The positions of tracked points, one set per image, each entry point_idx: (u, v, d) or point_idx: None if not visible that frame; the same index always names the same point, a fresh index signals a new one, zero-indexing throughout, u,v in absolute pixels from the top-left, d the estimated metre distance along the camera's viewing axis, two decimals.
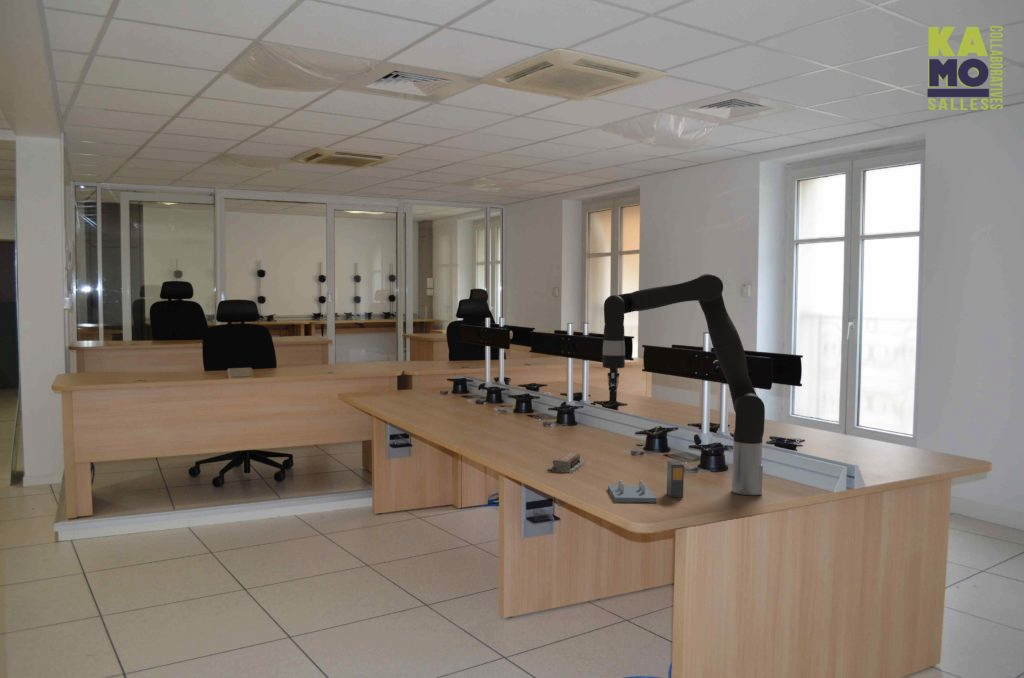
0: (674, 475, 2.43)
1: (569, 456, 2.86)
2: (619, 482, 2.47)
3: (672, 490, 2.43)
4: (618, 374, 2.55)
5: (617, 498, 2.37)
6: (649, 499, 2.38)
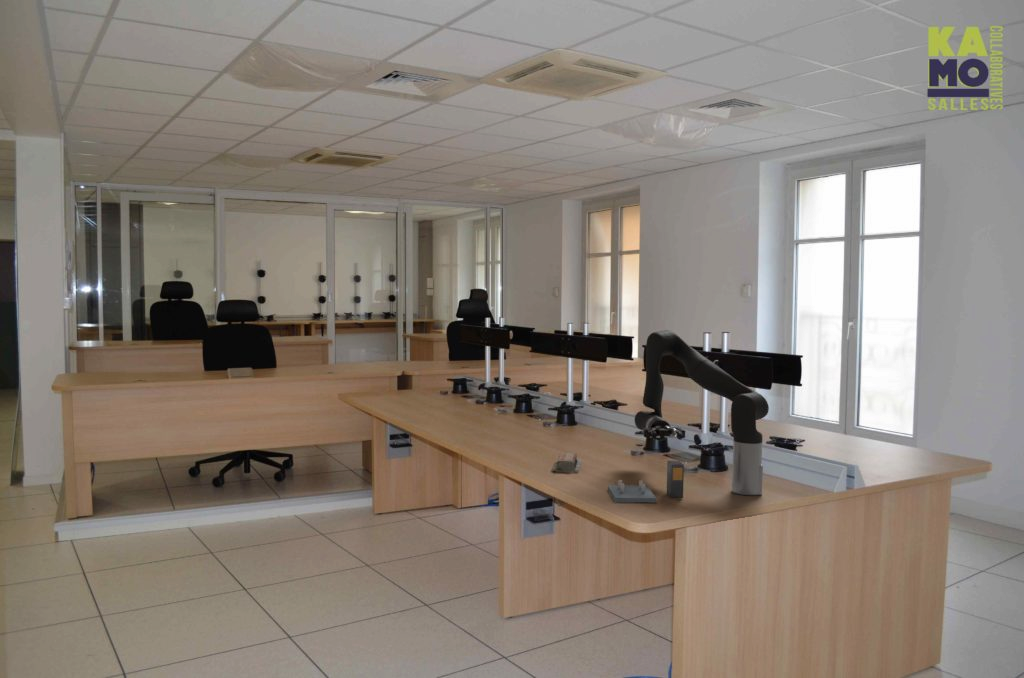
0: (674, 475, 2.43)
1: (570, 456, 2.86)
2: (619, 482, 2.47)
3: (672, 490, 2.43)
4: None
5: (617, 498, 2.37)
6: (649, 499, 2.38)
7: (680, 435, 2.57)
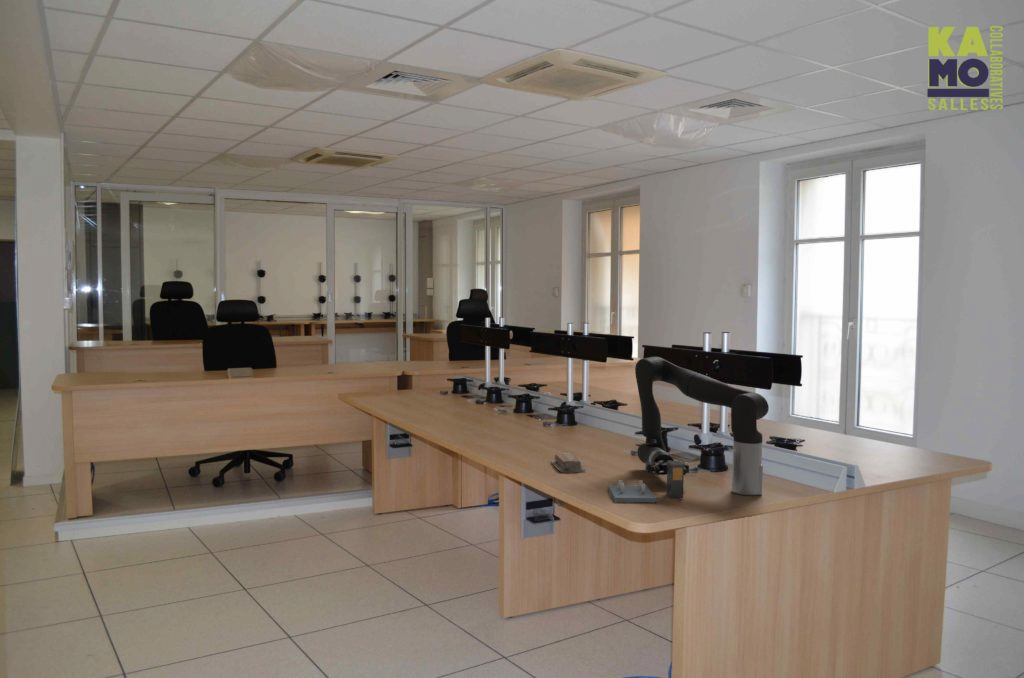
0: (674, 475, 2.43)
1: (570, 456, 2.87)
2: (619, 482, 2.47)
3: (672, 490, 2.43)
4: None
5: (617, 498, 2.37)
6: (649, 499, 2.38)
7: (684, 471, 2.51)
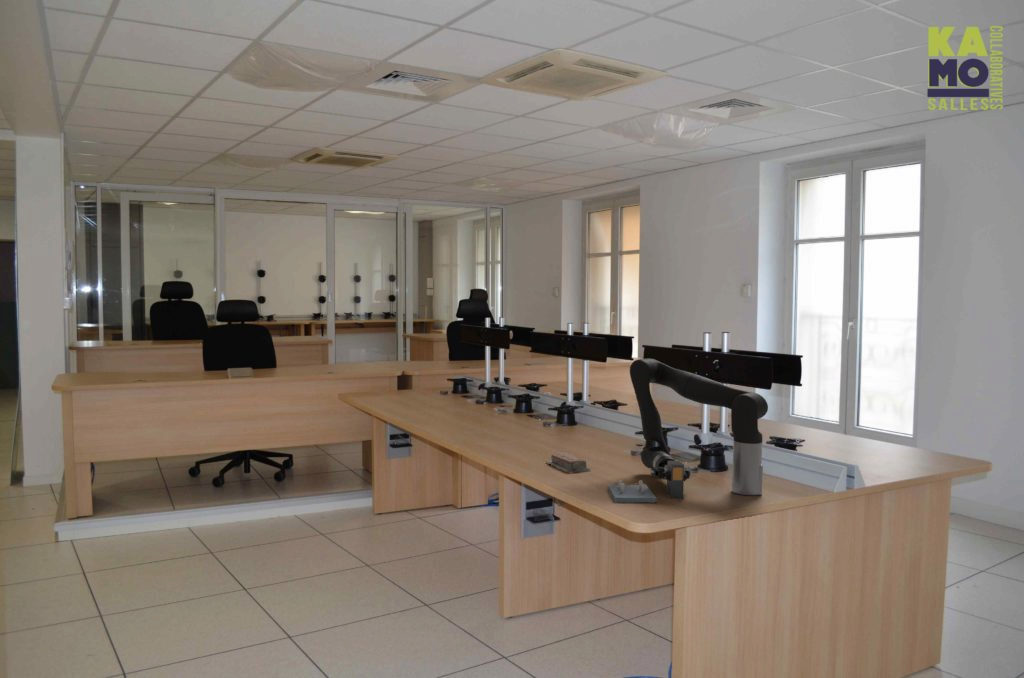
0: (674, 475, 2.43)
1: (570, 456, 2.87)
2: (619, 482, 2.47)
3: (672, 490, 2.43)
4: (665, 465, 2.53)
5: (617, 498, 2.37)
6: (649, 499, 2.38)
7: (684, 476, 2.43)
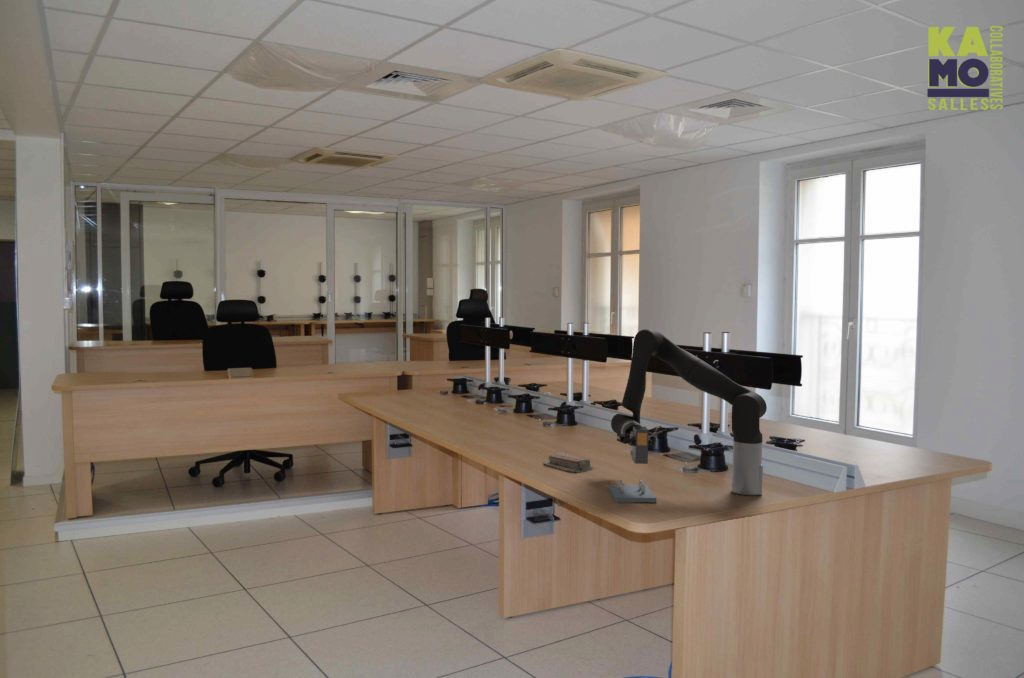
0: (639, 440, 2.42)
1: (570, 455, 2.87)
2: (619, 482, 2.47)
3: (637, 455, 2.43)
4: (631, 431, 2.52)
5: (617, 498, 2.37)
6: (649, 499, 2.38)
7: (648, 441, 2.43)
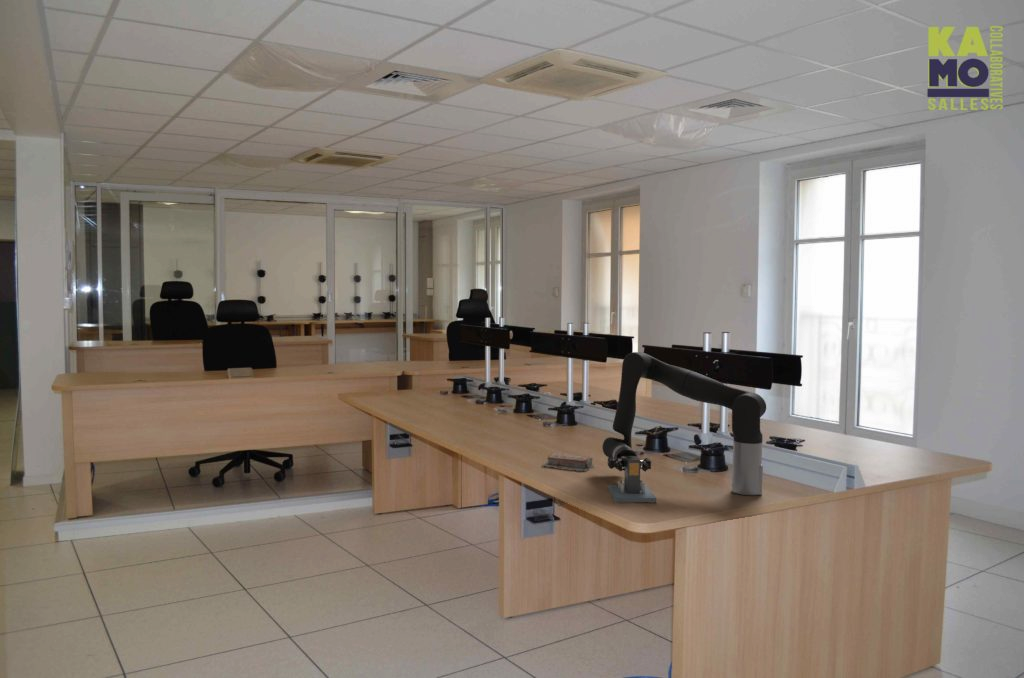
0: (631, 470, 2.42)
1: (569, 455, 2.88)
2: (619, 482, 2.47)
3: (628, 485, 2.42)
4: None
5: (617, 498, 2.37)
6: (649, 499, 2.38)
7: (645, 467, 2.43)
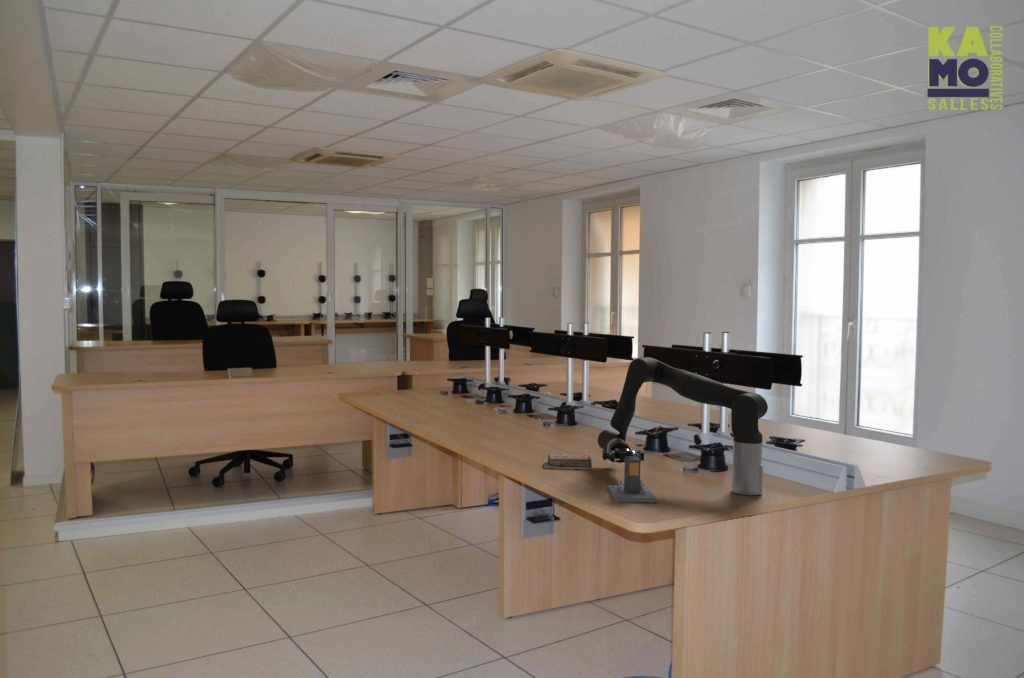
0: (631, 470, 2.42)
1: (568, 455, 2.88)
2: (619, 482, 2.47)
3: (628, 485, 2.42)
4: (616, 449, 2.65)
5: (617, 498, 2.37)
6: (649, 499, 2.38)
7: None
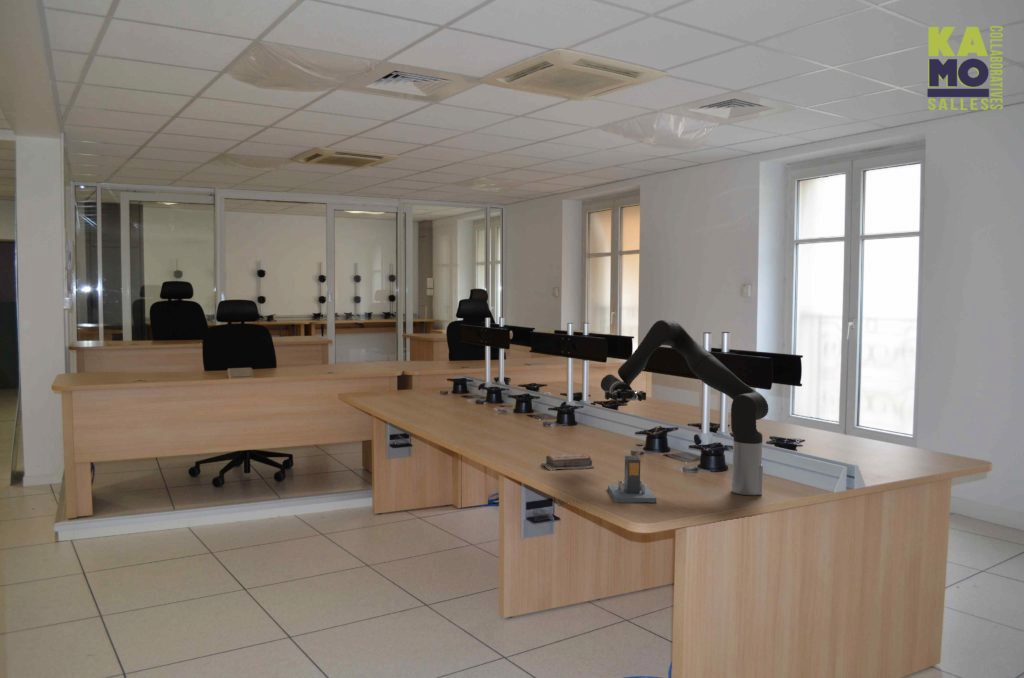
0: (631, 470, 2.42)
1: (567, 455, 2.88)
2: (619, 482, 2.47)
3: (628, 485, 2.42)
4: None
5: (617, 498, 2.37)
6: (649, 499, 2.38)
7: (640, 396, 2.60)
